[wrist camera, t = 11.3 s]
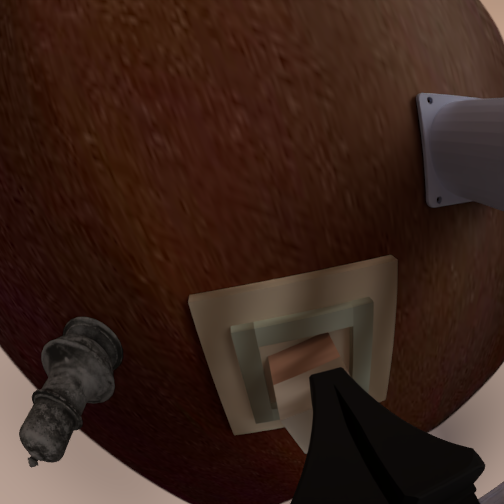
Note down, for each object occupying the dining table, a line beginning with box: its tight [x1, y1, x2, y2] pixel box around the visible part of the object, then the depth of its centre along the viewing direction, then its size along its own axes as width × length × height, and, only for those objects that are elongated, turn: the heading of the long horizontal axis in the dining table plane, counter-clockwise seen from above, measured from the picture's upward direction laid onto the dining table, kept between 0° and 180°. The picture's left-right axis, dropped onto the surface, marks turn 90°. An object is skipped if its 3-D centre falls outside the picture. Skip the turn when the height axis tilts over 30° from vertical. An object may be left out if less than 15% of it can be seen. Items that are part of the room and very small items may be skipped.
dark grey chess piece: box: [19, 317, 123, 467], centre depth 15 cm, size 6×6×12 cm
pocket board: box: [188, 255, 398, 435], centre depth 21 cm, size 14×14×2 cm
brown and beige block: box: [268, 332, 350, 454], centre depth 18 cm, size 4×4×6 cm
